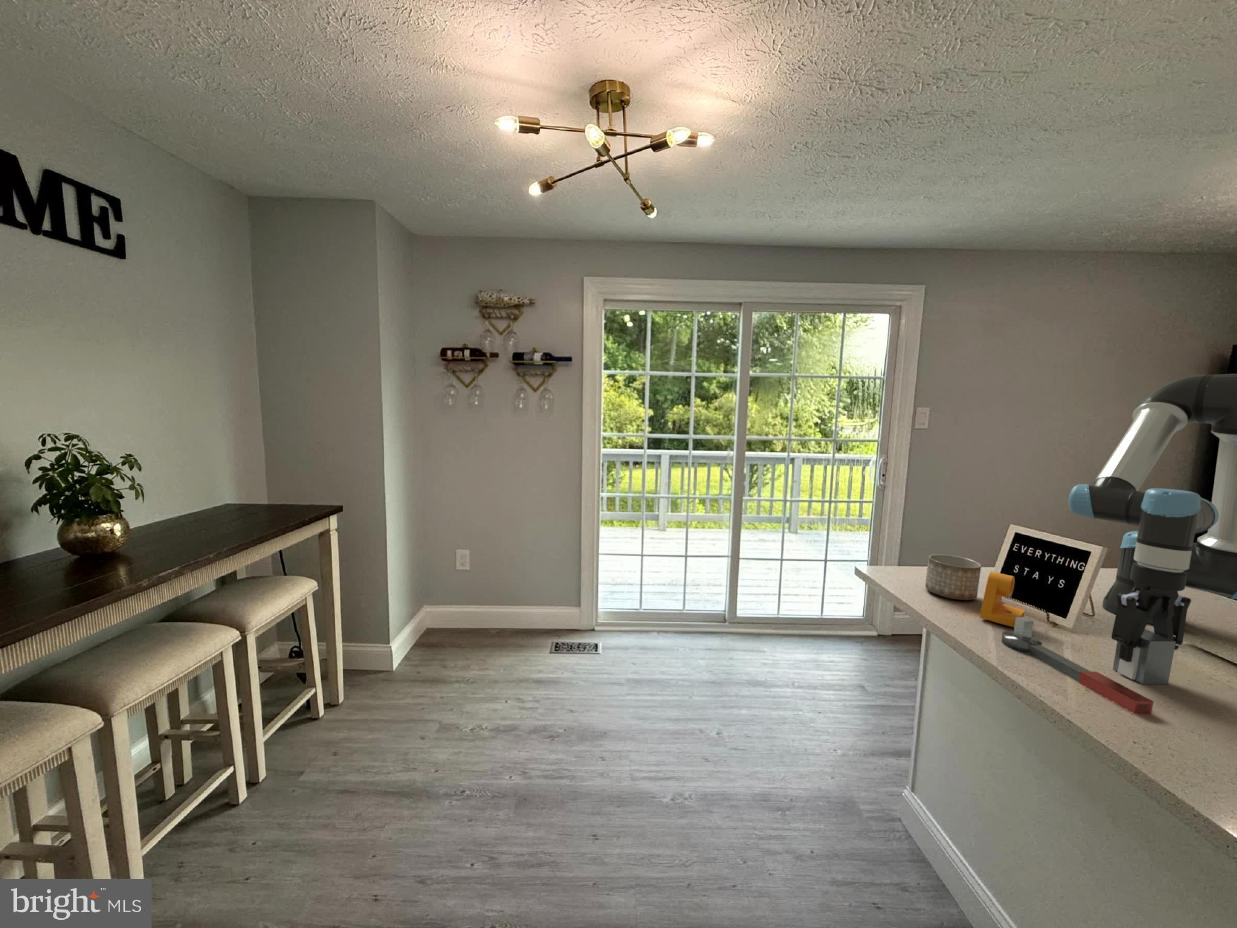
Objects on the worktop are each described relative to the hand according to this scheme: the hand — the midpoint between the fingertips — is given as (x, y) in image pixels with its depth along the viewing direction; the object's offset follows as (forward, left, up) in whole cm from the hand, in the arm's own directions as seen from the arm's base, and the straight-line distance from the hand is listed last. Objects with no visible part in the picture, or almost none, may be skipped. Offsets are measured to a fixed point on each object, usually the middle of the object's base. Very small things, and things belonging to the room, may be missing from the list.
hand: (1140, 675), depth 102 cm
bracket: (+6, -27, -1) cm, 28 cm away
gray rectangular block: (0, 0, 0) cm, 0 cm away
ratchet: (+14, -2, 0) cm, 14 cm away
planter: (+7, -44, -1) cm, 45 cm away
